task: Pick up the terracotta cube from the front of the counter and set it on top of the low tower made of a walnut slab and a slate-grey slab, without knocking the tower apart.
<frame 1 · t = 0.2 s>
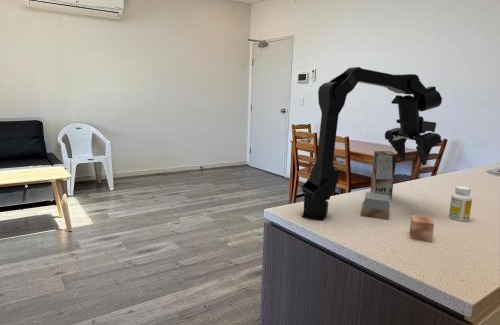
hand: (413, 162, 115), 15 cm above the counter, tool pointing down, fingers open, 9 cm apart
terracotta cube: (420, 237, 94), on the counter
supplement bottle: (458, 218, 109), on the counter
coffee box: (380, 196, 131), on the counter
walnut base slab: (374, 215, 111), on the counter, touching slate top slab
slate top slab: (376, 205, 110), point 3 cm above the counter, touching walnut base slab
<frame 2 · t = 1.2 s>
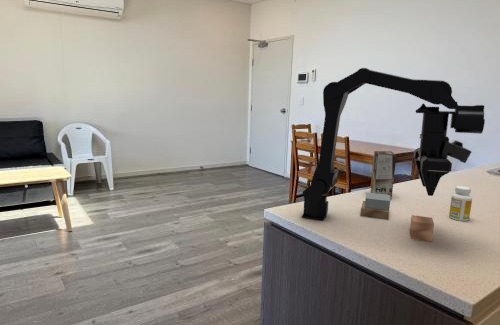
hand: (427, 190, 93), 12 cm above the counter, tool pointing down, fingers open, 9 cm apart
nothing on the counter moved.
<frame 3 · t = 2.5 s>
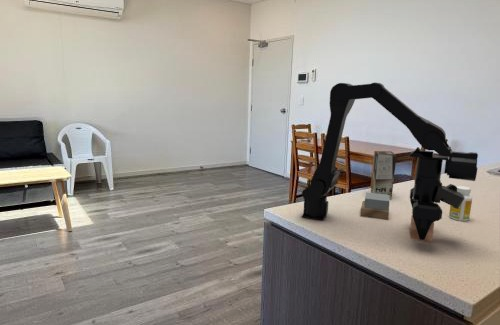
hand: (420, 232, 94), 1 cm above the counter, tool pointing down, fingers open, 9 cm apart
walnut base slab: (374, 215, 111), on the counter
slate top slab: (376, 205, 110), point 3 cm above the counter
everything else where it was.
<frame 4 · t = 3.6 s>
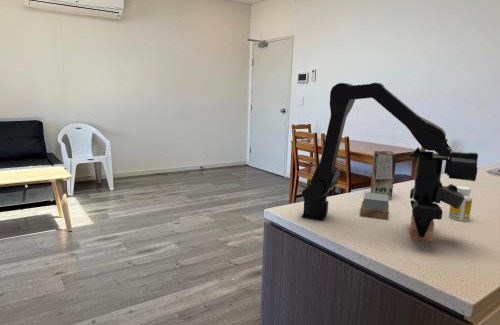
hand: (420, 233, 93), 1 cm above the counter, tool pointing down, fingers closed on terracotta cube, 5 cm apart
terracotta cube: (420, 236, 94), on the counter, touching gripper
walnut base slab: (374, 215, 111), on the counter, touching slate top slab
slate top slab: (375, 205, 110), point 3 cm above the counter, touching walnut base slab
everything else where it was.
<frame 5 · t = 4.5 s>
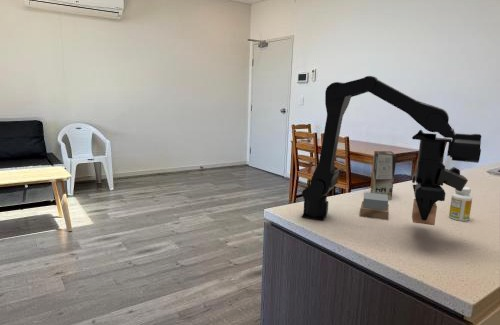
hand: (423, 216, 93), 6 cm above the counter, tool pointing down, fingers closed on terracotta cube, 5 cm apart
terracotta cube: (422, 220, 93), point 4 cm above the counter, touching gripper
everything else where it was.
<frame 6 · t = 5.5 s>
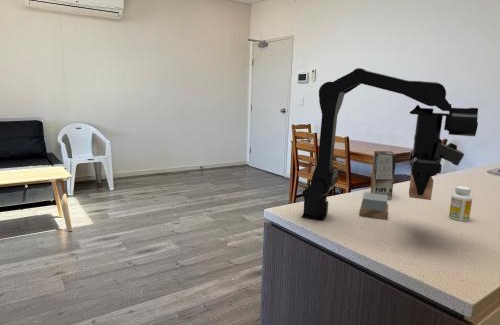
hand: (419, 192, 93), 12 cm above the counter, tool pointing down, fingers closed on terracotta cube, 5 cm apart
terracotta cube: (419, 196, 93), point 11 cm above the counter, touching gripper
everything else where it was.
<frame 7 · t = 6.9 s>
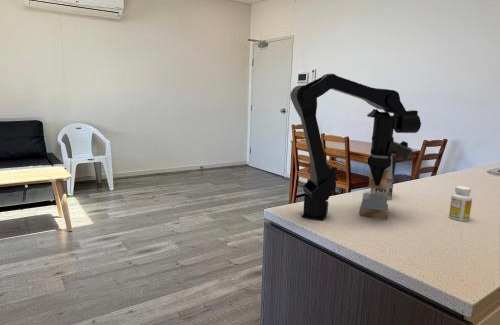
hand: (377, 183, 109), 10 cm above the counter, tool pointing down, fingers closed on terracotta cube, 5 cm apart
terracotta cube: (377, 186, 109), point 9 cm above the counter, touching gripper
everything else where it was.
when the fingers open (8 cm above the counter, at t = 8.3 s): terracotta cube drops 1 cm, resting on slate top slab.
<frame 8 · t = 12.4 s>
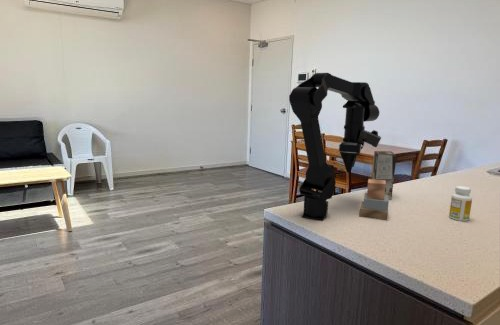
hand: (350, 169, 117), 12 cm above the counter, tool pointing down, fingers open, 9 cm apart
terracotta cube: (375, 197, 109), point 6 cm above the counter, touching slate top slab
slate top slab: (375, 206, 110), point 2 cm above the counter, touching terracotta cube, walnut base slab
everything else where it was.
at the end: terracotta cube 0.2 cm off-centre on the slate top slab, point 3.0 cm above the slate top slab's base; slate top slab 0.4 cm off-centre on the walnut base slab, point 3.0 cm above the walnut base slab's base; terracotta cube tilted 1° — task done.
